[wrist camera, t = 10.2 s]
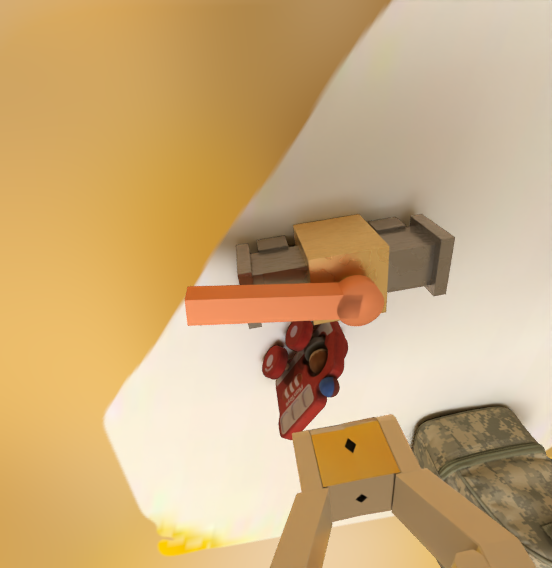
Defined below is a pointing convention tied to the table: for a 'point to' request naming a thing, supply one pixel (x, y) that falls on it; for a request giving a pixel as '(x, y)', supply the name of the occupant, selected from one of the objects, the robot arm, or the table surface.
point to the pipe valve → (353, 255)
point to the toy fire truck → (306, 372)
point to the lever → (285, 302)
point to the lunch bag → (494, 472)
